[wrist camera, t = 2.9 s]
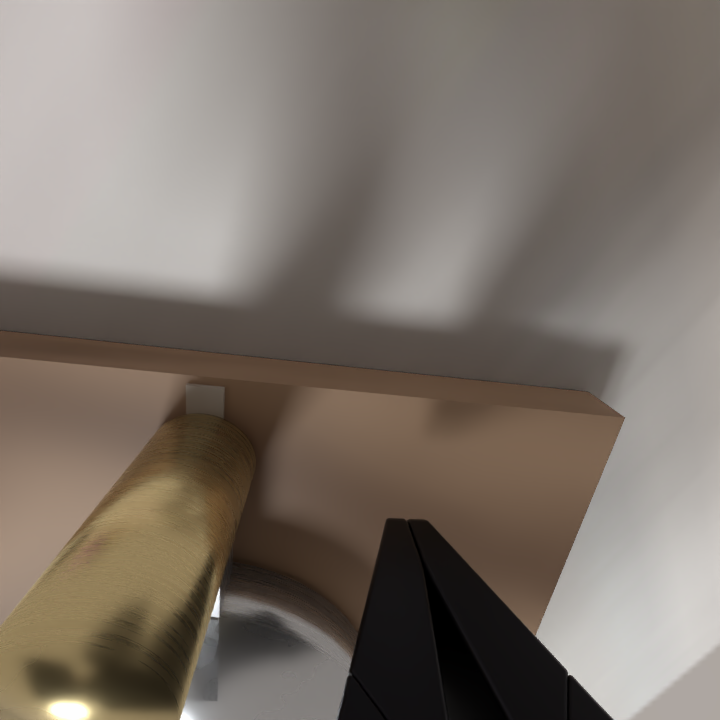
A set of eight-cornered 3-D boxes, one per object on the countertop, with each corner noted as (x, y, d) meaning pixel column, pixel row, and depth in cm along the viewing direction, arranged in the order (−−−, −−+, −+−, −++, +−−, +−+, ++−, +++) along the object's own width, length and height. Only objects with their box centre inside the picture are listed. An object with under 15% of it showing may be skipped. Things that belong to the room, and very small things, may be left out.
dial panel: (441, 791, 18) (451, 843, 16) (-44, 797, 16) (-84, 859, 14) (588, 391, 11) (627, 419, 10) (-230, 306, 9) (-342, 325, 7)
